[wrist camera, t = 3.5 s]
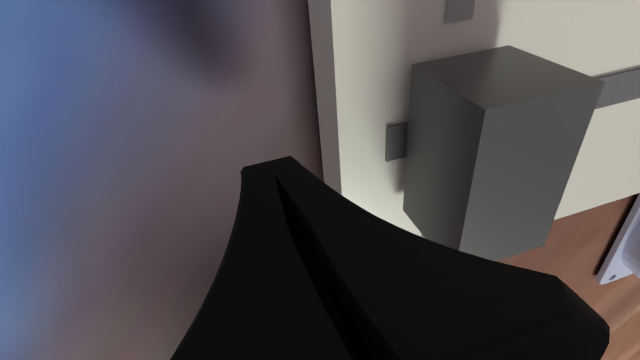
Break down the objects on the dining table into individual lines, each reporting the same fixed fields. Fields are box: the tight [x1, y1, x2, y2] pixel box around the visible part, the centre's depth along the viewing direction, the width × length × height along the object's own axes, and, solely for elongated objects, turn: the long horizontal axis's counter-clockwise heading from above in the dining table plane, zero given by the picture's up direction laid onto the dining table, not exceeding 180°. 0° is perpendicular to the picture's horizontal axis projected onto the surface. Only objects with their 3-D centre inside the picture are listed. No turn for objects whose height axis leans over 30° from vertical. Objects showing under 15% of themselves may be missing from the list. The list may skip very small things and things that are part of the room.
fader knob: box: [403, 45, 605, 261], centre depth 11 cm, size 3×5×3 cm, turn 4°
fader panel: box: [308, 0, 640, 238], centre depth 14 cm, size 20×12×2 cm, turn 94°
